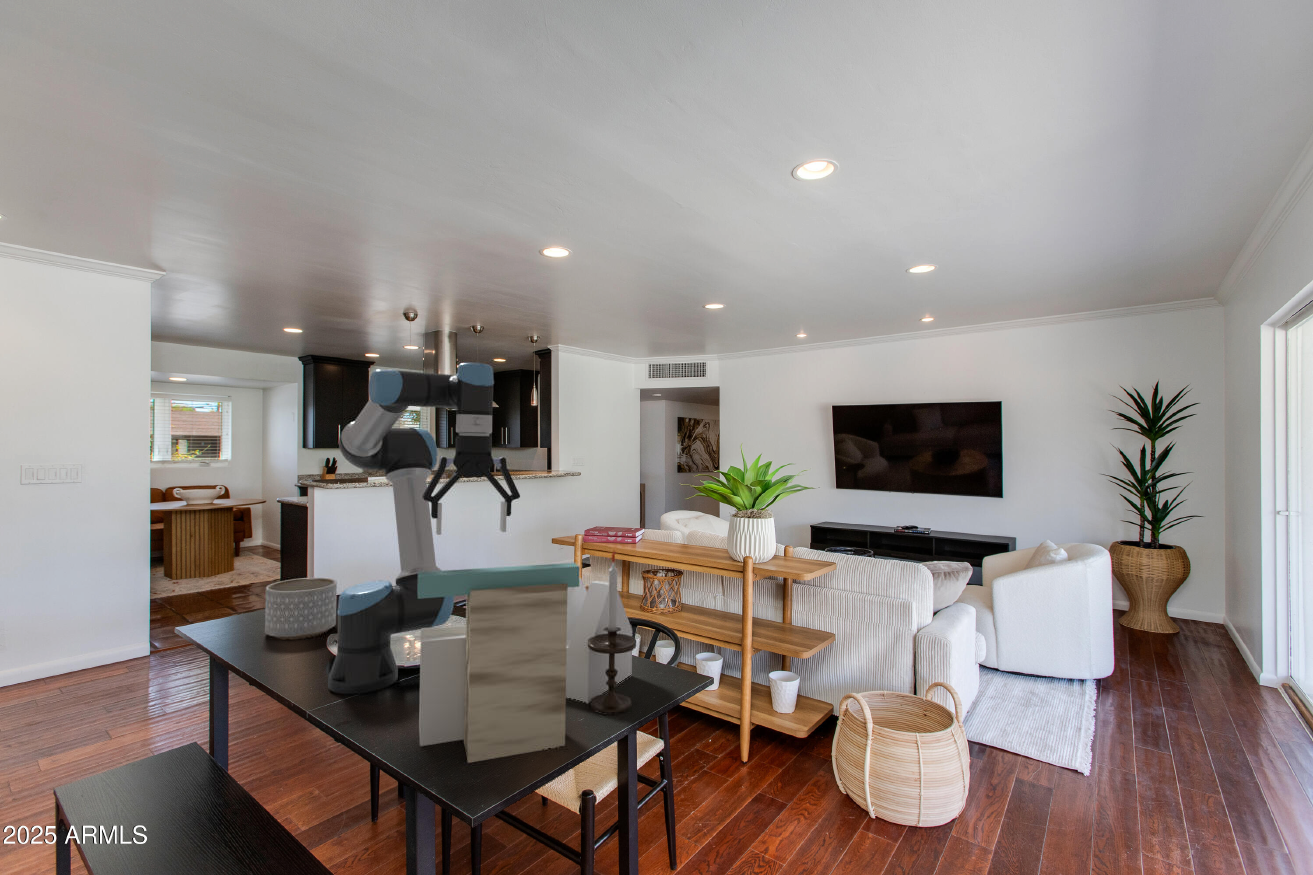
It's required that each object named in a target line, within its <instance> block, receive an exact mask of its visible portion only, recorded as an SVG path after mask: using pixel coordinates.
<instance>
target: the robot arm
mask: <svg viewBox="0 0 1313 875" xmlns="http://www.w3.org/2000/svg"><path fill="white" fill-rule="evenodd" d="M494 384H495V380H494V369H493V367H492V365H490V364H487V363H480V362H462V363H459V365H458V366H457V373H456V374H445V373H444V374H443V373H433V372H420V371H419V372H418V371H409V370H400V369H399V370H398V369H393V368H392V369H391V368H389V369H379V368H378V369H375V370H373V371H372V373H371V374H370V379H369V381H368V396H369V400H368V401H367V403H366V404H365V406H364V407H363V409H362V410H361V411H360V413H359V414H358V416H357V417H356V418H355V420H354V421H351V422H350V423H348V424H347V425H346V426H345V427H344V428H343V430H342V431H341V433H340V435H339V438H338V445H339V446H338V447H339V450H340V452H341V455H342V456H343V457H344V459H345V460H346V461H347V462H348V463H350V464H351V465H352V466H355V467H356V468H359V469H361V470H364V471H372V472H373V471H375V472H378V471H380V472H381V471H383V472H384V474H385V480H386V481H388V482H389V483H391V484H392V490H393V491H392V493H393V503H394V513H395V514H394V515H395V521H396V523H395V525H396V532H397V543H398V552H399V562H400V573H399V574H398V575H397V576H396V578H395V585H393V584H392V582H391V581H389V580H382V579H381V580H377V581H376V580H369V581H365V582H361V583H358V584H355V585H352V586H350V587H347V588H346V589H344V590H343V591H342V592H341V593H340V594H339V598H338V604H337V605H338V606H337V609H336V615H337V652H336V656H335V657H334V658H335V659H334V661H333V664H332V667H331V670H330V673H329V675H328V683H327V684H328V686H327V687H328V689H329V690H330V691H331V692H333V693H337V694H342V695H358V694H359V695H360V694H364V693H365V694H366V693H371V692H375V691H380V690H382V689H385V688H387V687H389V686H392V685H393V684H395V682H397V680H398V673H399V672H398V671H399V669H398V665H397V663H396V660H395V656H394V653H393V650H392V647H391V639H392V635H395V634H401V633H407V632H413V631H418V630H421V628H431V627H440V626H443V625H445V624H446V623H447V622H448V621H449V619H450V618H451V615H452V613H453V609H454V605H455V596H448V597H434V598H421V599H418V572H429V571H443V570H442V569H441V568H439V567H438V566H437V561H436V553H435V546H434V545H435V544H434V537H433V536H434V535H433V528H432V520H433V519H435V520H436V521H435V522H436V524H435V534H436V535H437V536H440V535H442V519H443V518H442V517H443V513H442V511H443V503H442V502H440V501H441V500H442V499H443V497H444V496H445V495H446V494H447V493H448V492H449V491H450V490H451V488H452V487H454V485H455V484H456V483H457V482H458V481H459V480H460V479H461V478H462V477H464V478H465V479H471V478H476V479H477V478H478V479H482V478H483V477H484V478H486V479H487V480H488V482H489V483H490V484H491V485H492V486H493V488H495V490H496V491H497V493H499V495H500V496H501V497H502V498H503V500H501V501H500V518H499V519H500V524H499V525H500V527H499V530H500V531H501V532H502V533H506V532H507V517H511V515H512V502H513V501H514V500H519V499H520V498H521V495H520V494H521V493H520V492H519V490H518V488H517V486H516V484H515V481H514V479H513V477H512V475H511V473H510V471H509V469H508V466H507V459H506V457H504V456H500V457H498V458H497V457H494V458H493V456H492V446H493V445H492V444H493V443H492V442H493V440H492V439H493V437H491V435H490V434H492V433H493V405H494V404H493V402H494ZM409 407H425V408H426V407H428V408H445V409H449V410H450V409H453V410H456V413H455V414H456V422H455V423H456V424H455V432H456V433H457V434H458V435H456V437H455V453H454V457H453V458H452V457H446V456H440V458H439V462H437V461H438V448H437V443H436V441H435V439H434V438H435V437H434V436H433V435H432V433H430V431H428V430H427V429H424V428H415V427H393V426H394V425H395V424H396V423H397V422H398V420H399V419H400V417H401V416H403V414H404V413H405V411H407V409H408V408H409ZM437 463H438V467H437V469H436V470H435V473H434V474H433V476H432V478H431V480H430V481H429V484H428V485H427V480H428V478H429V477H430V476H431V475H432V470H434V469H435V468H436V466H437ZM451 464H453V466H454V467H455V468H456V470H455V471H454V472H453V473H452V475H451V476H450V477H449V479H448V480H446V482H445V483H444V484H443V485H442V486H441V487H440V489H438V490H437V492H436V493H435V494H434V491H435V489H436V487H437V485H438V483H439V482H440V481H441V479H442V476H443V474H444V473H445V472H446V469H447V468H449V467H450V466H451ZM493 465H495V466H496V467H497V468H499V471H500V473H501V475H502V477H503V479H504V481H505V484H506V486H507V488H508V489H509V492H510V494H509V492H507V490H506V489H505V488H504V487H503V486H502V484H501V483H500V482H499V481H498V480H497V479H496V477H495V476H494V475H493V473H492V472H491V471H490V469H491V468H492V466H493ZM433 494H434V495H433ZM430 503H431V504H430ZM430 505H431V507H430ZM430 510H431V511H430Z"/></svg>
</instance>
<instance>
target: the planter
mask: <svg viewBox="0 0 1313 875" xmlns="http://www.w3.org/2000/svg"><path fill="white" fill-rule="evenodd" d="M337 588H338V586H337V580H336V579H334V578H329V577H328V578H327V577H303V578H301V577H300V578H292V579H288V580H287V579H286V580H282V581H281V580H280V581H277V582H276V581H275V582H273V583H271V584H268V585H267V586H266V587H265V609H264V610H265V611H264V613H265V616H264V618H265V620H264V633H265V634H266V635H267V636H271V637H273V636H274V637H276V638H275V639H277V638H280V639H279V640H286V639H290V640H297V639H296V638H302V639H306V638H305V637H309V638H312V637H311V636H313V637H316V635H317V636H320V635H323V634H325V633H327V632H328V631H329V630H330V629H332V628H333V627H335V626H336V624H337ZM324 632H325V633H324ZM322 633H323V634H322ZM319 634H320V635H319ZM274 637H273V638H274Z"/></svg>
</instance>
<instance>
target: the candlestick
mask: <svg viewBox="0 0 1313 875" xmlns="http://www.w3.org/2000/svg"><path fill="white" fill-rule="evenodd" d="M611 562H612V563H611V567H610V568H609V569H608V583H609V604H608V627H606V628H604V629H603V630H604V631H607V632H608V634H601V635H597V636H595V637H591V638H590V639H589V640H588V648H589V649H590V650H592V651H594V652H598V653H604V654H609V668H608V669H607V670H606V671H605V673H606V675H607V677H608V681H606V685H608V691H607V693H604V694H602V695H598V696H596V697H594V698H593V699H592V700H591V702H590V708H591V710H592V709H593V710H592V711H594V710H595V711H598V712H601V713H607V714H606V715H616V714H615V713H620V714H622V713H625V712H624V711H626V710H628V709H629V708H630V707H632V699H631V698H630V697H628V696H627V695H625V694H621V693H615V687H614V685H616V684H617V681H615V676H617V673H618V671H617V669H615V654H618V653H625V652H629V651H631V650H632V651H633V650H635V649H636V648H637V638H635V637H634V636H633V635H632V636H629V635H625V634H617V632H618V631H620V630H621V628H619V627H616V626H617V591H618V568H617V567H616V565H615V562H616V551H615V549H613V552H612V554H611ZM616 686H617V685H616ZM630 709H631V708H630ZM630 709H629V710H630ZM629 710H628V711H629ZM595 711H594V712H595ZM598 712H597V713H598ZM626 712H627V711H626ZM601 713H600V714H601ZM609 713H610V714H609Z"/></svg>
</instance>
